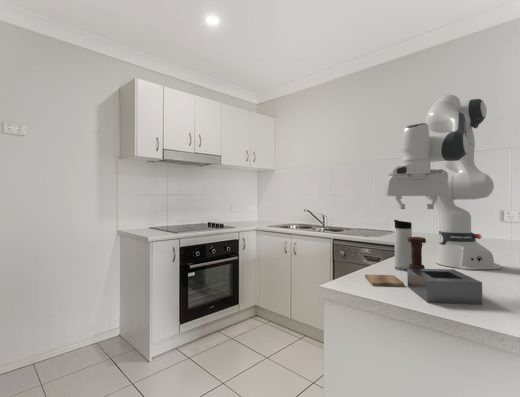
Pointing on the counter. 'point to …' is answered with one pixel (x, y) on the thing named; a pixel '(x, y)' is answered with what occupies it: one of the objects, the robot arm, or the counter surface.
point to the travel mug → (402, 245)
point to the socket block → (444, 286)
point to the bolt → (416, 252)
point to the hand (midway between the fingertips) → (416, 209)
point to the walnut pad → (384, 280)
